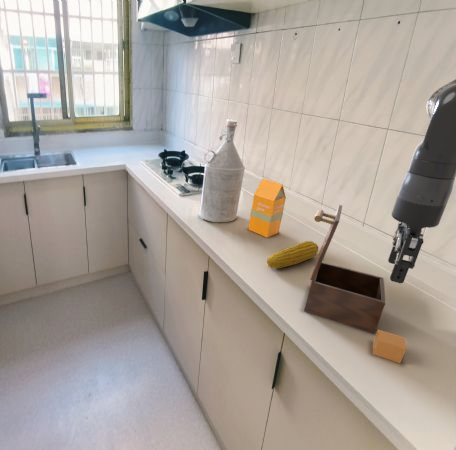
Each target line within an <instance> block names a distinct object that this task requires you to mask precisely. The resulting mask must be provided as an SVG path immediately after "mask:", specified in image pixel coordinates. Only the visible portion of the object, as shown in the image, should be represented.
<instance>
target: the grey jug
mask: <svg viewBox="0 0 456 450" xmlns="http://www.w3.org/2000/svg"><path fill="white" fill-rule="evenodd" d="M237 123H238V120H235V119H232V118H227V119H226V125H225V127H224V128H226V131H225V129H224V128H223V129H221V134H220V135H219V137H218V139H219V141H222V140H223V138H224V136H225V140H224V141H223V142H222V143H221V145H220V146H219V148H217V150H216V151H215V152H214V150H211V149H208V150H207V151H205V152H204V154H203V156H204V157H203V160H205V162H206V163H205V164H204V171H203V179H202V189H201V199H200V209H199V214H198V215H199V217H200V218H201V219H202V220H205V221H208V222H213V223H228V222H232V221H235V220H236V219H237V215H238V210H239V209H238V208H239V204H240V197H241V191H242V186H243V181H244V176H245V175H244V174H245V170H246V167H245V165H244V162H243V161H242V159H241V156H240V154H239V152H238V150H237V148H236V146H235V144H234V138H235V133H236V129H237V127H238V124H237ZM223 133H225V134H223ZM209 153H212V156H211V157H210V159H209V160H206V159H207V155H208V154H209Z"/></svg>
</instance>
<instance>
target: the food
mask: <svg viewBox="0 0 456 450" xmlns="http://www.w3.org/2000/svg"><path fill="white" fill-rule="evenodd" d="M318 253H319V245H318V244H317V243H316V242H314V241H311V240H308V241H303V242H300V243H298V244H295V245H292V246H289V247H287V248H284V249H281V250H279V251H276V252H274V253H273V254H271V255H270V256H269V257H268V258H267V260H266V264H267V266H268V267H270V268H272V269H281V268H286V267H289V266H293V265H297V264H300V263H302V262H305V261H308V260H309V259H312V258H314V257H315V256H317V255H318Z"/></svg>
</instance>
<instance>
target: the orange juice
mask: <svg viewBox="0 0 456 450" xmlns="http://www.w3.org/2000/svg"><path fill="white" fill-rule="evenodd" d="M286 199H287V197H286V193H285V189H284V184H283V183H280V182H276V181H272V180H269V179H265V178H262V179H261V181H260V182H259V184H258V186H257V188H256V190H255V192H254V194H253V199H252V205H251V209H250V217H249V223H248V230H249V231H251V232H253V233H256V234H258V235H260V236H263V237H265V238H269V237H272V236H274V235H277V234H279V233H280V228H281V223H282V218H283V215H284V209H285V208H284V207H285V203H286Z"/></svg>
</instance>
